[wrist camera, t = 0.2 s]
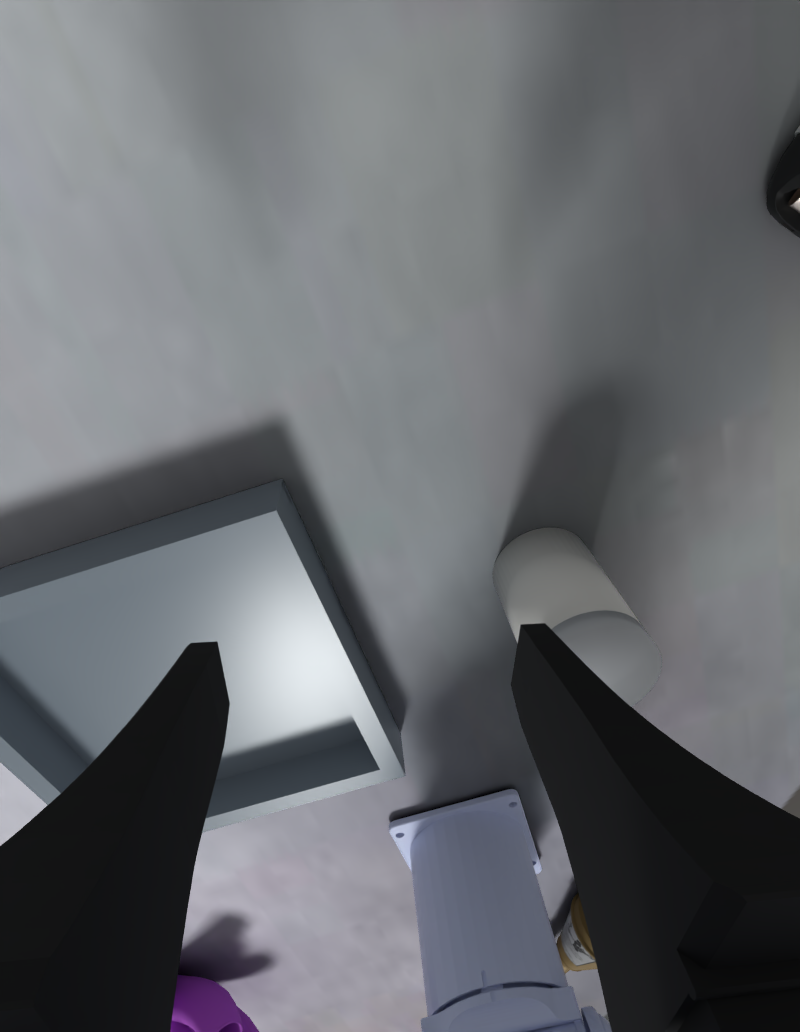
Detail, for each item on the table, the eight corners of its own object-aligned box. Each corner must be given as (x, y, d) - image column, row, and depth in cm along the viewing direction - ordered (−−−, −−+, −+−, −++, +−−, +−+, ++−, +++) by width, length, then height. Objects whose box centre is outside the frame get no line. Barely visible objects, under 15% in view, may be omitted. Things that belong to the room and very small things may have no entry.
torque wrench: (444, 1041, 56) (401, 1034, 55) (644, 875, 40) (587, 861, 39) (447, 1108, 52) (400, 1102, 51) (672, 954, 36) (608, 941, 35)
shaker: (593, 591, 26) (664, 701, 20) (502, 618, 26) (548, 734, 20) (582, 514, 24) (659, 614, 18) (483, 544, 24) (527, 652, 18)
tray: (400, 733, 29) (405, 776, 27) (123, 812, 30) (107, 858, 28) (282, 478, 21) (276, 510, 19) (-90, 597, 22) (-135, 639, 20)
